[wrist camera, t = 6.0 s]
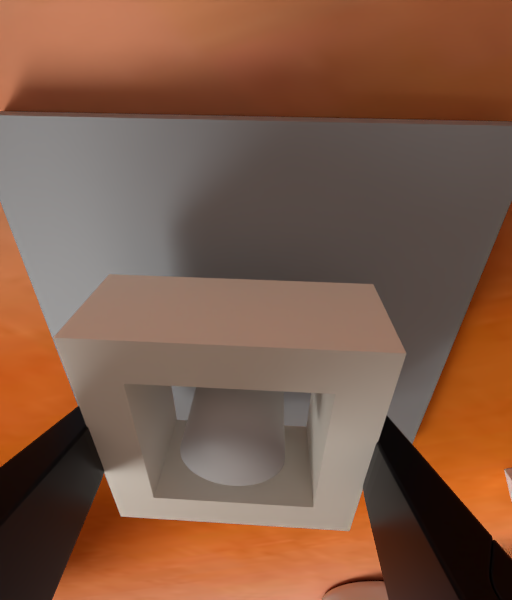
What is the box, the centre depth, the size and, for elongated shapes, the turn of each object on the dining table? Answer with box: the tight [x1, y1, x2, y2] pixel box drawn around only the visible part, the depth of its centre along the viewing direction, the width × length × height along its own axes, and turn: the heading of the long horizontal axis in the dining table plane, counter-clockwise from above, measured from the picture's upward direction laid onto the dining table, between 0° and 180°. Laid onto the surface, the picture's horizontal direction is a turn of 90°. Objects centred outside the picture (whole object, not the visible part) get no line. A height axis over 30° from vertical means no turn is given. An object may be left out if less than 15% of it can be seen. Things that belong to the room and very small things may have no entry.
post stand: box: [0, 111, 512, 486], centre depth 10 cm, size 13×13×5 cm
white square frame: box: [53, 274, 406, 531], centre depth 9 cm, size 6×6×2 cm
